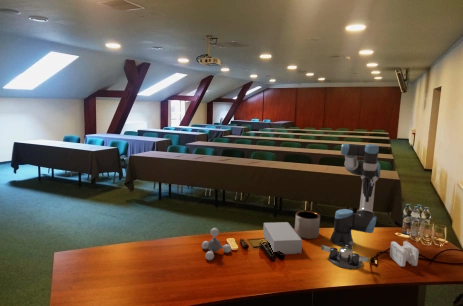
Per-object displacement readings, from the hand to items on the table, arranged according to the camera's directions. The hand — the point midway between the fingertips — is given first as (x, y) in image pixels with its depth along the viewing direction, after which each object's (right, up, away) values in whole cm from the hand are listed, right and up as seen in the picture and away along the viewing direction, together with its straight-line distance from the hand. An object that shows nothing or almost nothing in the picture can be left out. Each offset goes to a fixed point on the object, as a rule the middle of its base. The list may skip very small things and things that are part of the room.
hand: (365, 206), depth 202 cm
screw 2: (-6, -34, -7) cm, 36 cm away
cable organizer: (+23, -36, +1) cm, 43 cm away
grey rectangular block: (-22, -32, +3) cm, 39 cm away
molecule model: (-97, -31, +7) cm, 102 cm away
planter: (-28, -28, +38) cm, 55 cm away
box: (-50, -30, +22) cm, 62 cm away
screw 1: (-7, -32, +9) cm, 34 cm away
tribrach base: (-13, -34, +1) cm, 37 cm away
